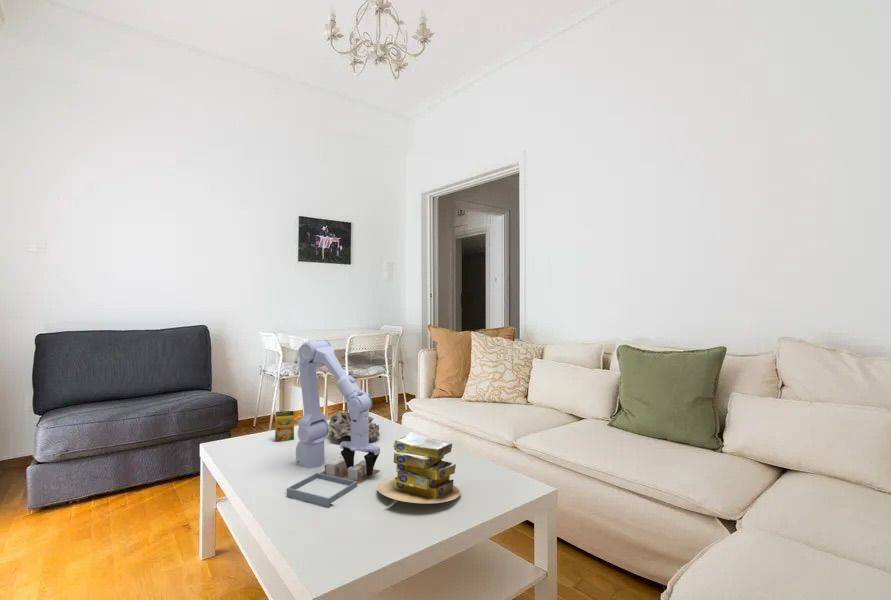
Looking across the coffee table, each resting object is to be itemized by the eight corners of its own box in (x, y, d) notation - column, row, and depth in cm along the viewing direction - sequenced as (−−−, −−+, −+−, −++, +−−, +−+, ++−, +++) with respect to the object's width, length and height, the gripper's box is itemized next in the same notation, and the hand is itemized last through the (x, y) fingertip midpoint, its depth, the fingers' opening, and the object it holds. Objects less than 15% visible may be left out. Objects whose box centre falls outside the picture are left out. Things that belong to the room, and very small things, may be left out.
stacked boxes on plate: (415, 472, 152) (415, 422, 152) (476, 491, 137) (476, 437, 137) (359, 498, 133) (359, 442, 132) (423, 524, 117) (423, 461, 117)
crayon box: (275, 442, 183) (274, 413, 183) (275, 439, 186) (274, 411, 186) (294, 439, 186) (294, 411, 186) (293, 437, 188) (293, 410, 188)
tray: (286, 496, 134) (286, 488, 134) (316, 480, 145) (316, 472, 145) (328, 507, 127) (328, 498, 127) (357, 489, 138) (357, 481, 138)
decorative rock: (324, 445, 176) (324, 419, 177) (329, 434, 202) (329, 411, 203) (380, 442, 180) (380, 417, 181) (378, 431, 205) (378, 409, 207)
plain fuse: (326, 473, 148) (326, 463, 148) (341, 465, 155) (341, 455, 155) (334, 475, 147) (334, 465, 147) (349, 467, 154) (349, 457, 154)
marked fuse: (348, 478, 144) (348, 468, 144) (363, 469, 151) (363, 459, 151) (356, 480, 143) (356, 469, 143) (371, 471, 150) (371, 461, 150)
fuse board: (316, 477, 147) (316, 466, 147) (340, 465, 158) (340, 455, 158) (358, 487, 140) (358, 475, 140) (380, 473, 151) (380, 462, 151)
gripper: (334, 432, 146) (334, 473, 147) (371, 438, 140) (371, 481, 140) (347, 426, 153) (348, 465, 153) (383, 431, 146) (383, 473, 147)
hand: (360, 472), depth 147 cm, fingers open, 7 cm apart
